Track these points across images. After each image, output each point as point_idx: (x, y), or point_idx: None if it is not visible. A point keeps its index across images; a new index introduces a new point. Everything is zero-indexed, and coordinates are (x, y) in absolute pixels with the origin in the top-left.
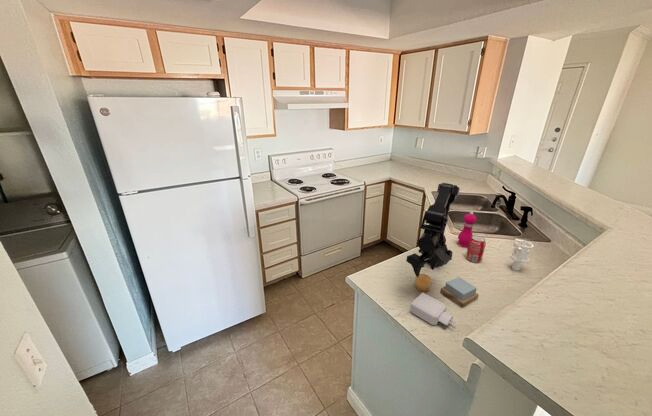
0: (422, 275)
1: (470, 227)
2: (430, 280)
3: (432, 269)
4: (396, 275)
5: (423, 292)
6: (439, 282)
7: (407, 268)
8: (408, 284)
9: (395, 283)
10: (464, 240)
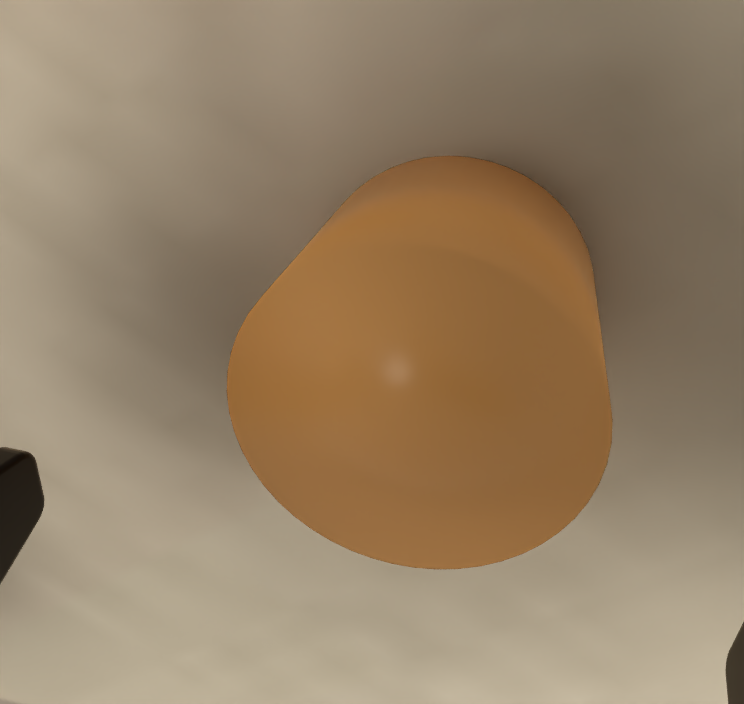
0: (335, 487)
1: None
2: (336, 269)
3: (22, 475)
4: (509, 672)
5: (554, 201)
6: (40, 173)
7: (239, 634)
8: None
9: (711, 618)
10: None
